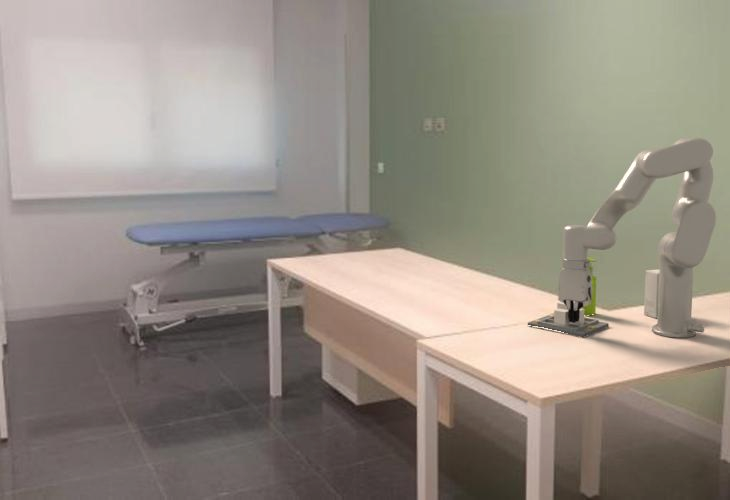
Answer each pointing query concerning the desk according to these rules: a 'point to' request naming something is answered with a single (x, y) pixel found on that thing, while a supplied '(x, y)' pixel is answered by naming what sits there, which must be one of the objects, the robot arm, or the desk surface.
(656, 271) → the skincare box
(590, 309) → the soap dispenser
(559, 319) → the tab
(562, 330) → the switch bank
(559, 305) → the tab
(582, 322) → the tab
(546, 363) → the desk surface
